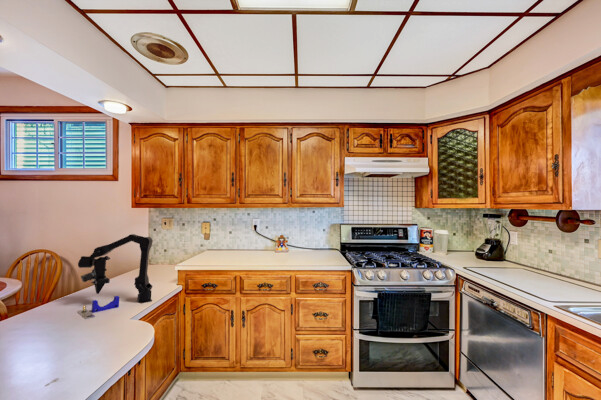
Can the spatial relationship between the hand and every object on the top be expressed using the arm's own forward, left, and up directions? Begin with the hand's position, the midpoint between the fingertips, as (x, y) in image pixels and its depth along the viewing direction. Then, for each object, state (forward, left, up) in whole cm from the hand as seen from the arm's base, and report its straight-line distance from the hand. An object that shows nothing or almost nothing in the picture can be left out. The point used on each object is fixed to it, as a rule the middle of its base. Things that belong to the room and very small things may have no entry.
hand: (97, 293), depth 158 cm
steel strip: (+9, +18, -6) cm, 21 cm away
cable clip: (0, +15, -6) cm, 16 cm away
